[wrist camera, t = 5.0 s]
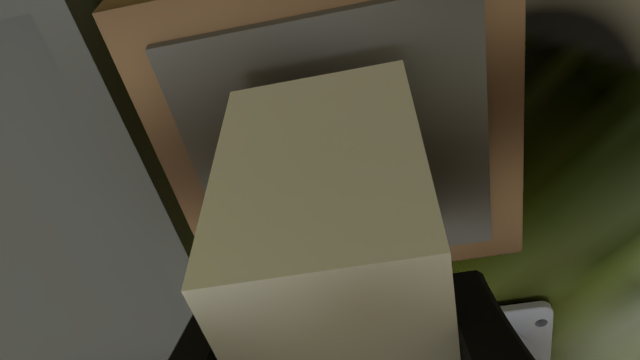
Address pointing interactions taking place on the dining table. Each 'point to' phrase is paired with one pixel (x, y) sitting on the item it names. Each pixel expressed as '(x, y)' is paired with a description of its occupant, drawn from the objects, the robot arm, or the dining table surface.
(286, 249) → the block
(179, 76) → the stand
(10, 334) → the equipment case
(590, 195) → the dining table surface
